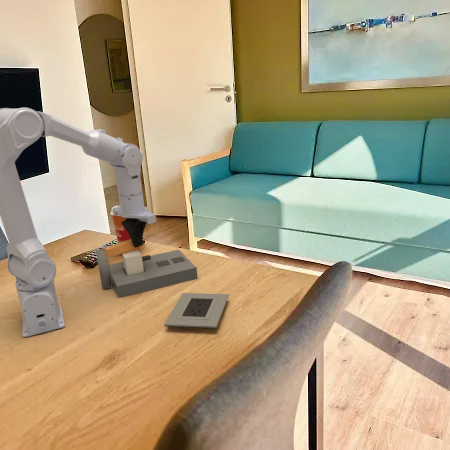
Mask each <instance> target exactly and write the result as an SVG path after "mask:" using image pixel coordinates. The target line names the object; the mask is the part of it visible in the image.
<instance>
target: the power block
mask: <svg viewBox="0 0 450 450" xmlns="http://www.w3.org/2000/svg"><path fill="white" fill-rule="evenodd" d="M150 257H151V260H146V261H142V262H143V269H144V272H141V273H137V274H132V275H128V276H126V274H125V270H124V263H123V261H120V262H116V263H111V264H109V270H110V276H111V282H112V287H113V288H114V290H115V293H116V295H117V297H118V298H119V299H120V298H124V297H128V296H132V295H137V294H139V293H144V292H145V293H146V292H149V291H153V290H156V289H161V288H165V287H169V286H173V285H177V284H181V283H182V284H183V283H185V282H188V281H189V282H190V281H193V280H197V279H199V278H198V270H197V269H198V268H197V266H196V265H195V264H194V263H192V261H191V260H190V259H189V258H188V257H187V256H186V255H185V254H184V253H183V252H182V251H181V250H180V249H175V250H171V251H165V252H162V253H158V254H157V253H156V254H152V255H150Z"/></svg>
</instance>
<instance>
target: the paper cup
mask: <svg viewBox="0 0 450 450" xmlns="http://www.w3.org/2000/svg"><path fill="white" fill-rule="evenodd" d="M118 206H120V204H119V205H115V206H113V207H112V208H114V207H118ZM112 208H111V211H110V215H111V217H112V223H113V225H114V230H115V231H114V232H115V235H116V239H117V243H120V242H123V241H126V240H129V239H131V238H130V236H129V234H128V232H127V230H126V229H125V228H124V226H123V225H122V223H121V222H122V221H124V220H125V219H126V218H124V217H121V216H120V215H117V216H115V215H113V209H112ZM140 248H141V247H138V248H135V249H132V250H137V249H138V250H139V252H140V253H141V249H140ZM132 250H130V251H132ZM120 255H121V256H122V253H121V254H120Z"/></svg>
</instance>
